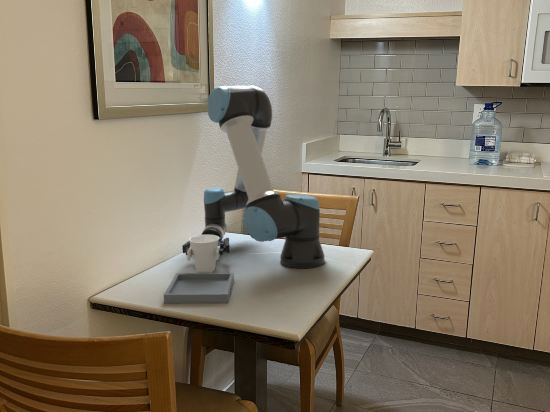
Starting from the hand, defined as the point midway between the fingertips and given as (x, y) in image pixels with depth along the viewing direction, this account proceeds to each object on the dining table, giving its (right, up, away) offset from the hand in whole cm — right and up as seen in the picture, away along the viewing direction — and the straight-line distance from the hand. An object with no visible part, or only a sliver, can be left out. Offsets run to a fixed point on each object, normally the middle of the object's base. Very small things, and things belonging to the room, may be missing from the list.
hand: (202, 256), depth 173 cm
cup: (0, -6, +6) cm, 8 cm away
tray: (+1, -10, -11) cm, 14 cm away
